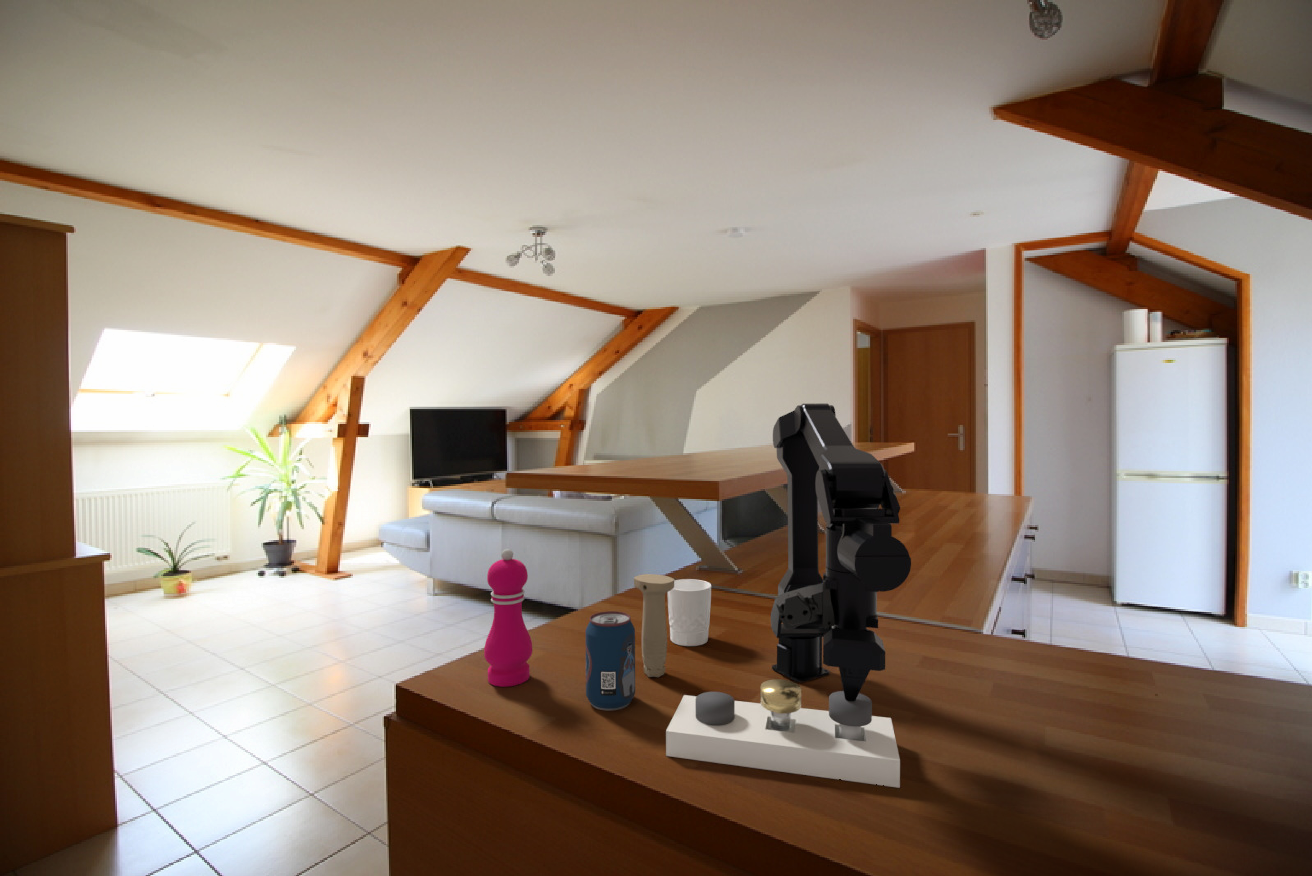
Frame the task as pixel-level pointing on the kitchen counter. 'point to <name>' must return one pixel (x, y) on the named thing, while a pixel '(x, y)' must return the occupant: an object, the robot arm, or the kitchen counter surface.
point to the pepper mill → (507, 624)
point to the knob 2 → (850, 714)
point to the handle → (654, 621)
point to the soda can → (610, 660)
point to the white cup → (689, 612)
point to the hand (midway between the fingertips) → (850, 699)
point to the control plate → (787, 744)
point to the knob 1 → (715, 708)
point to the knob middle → (780, 701)
